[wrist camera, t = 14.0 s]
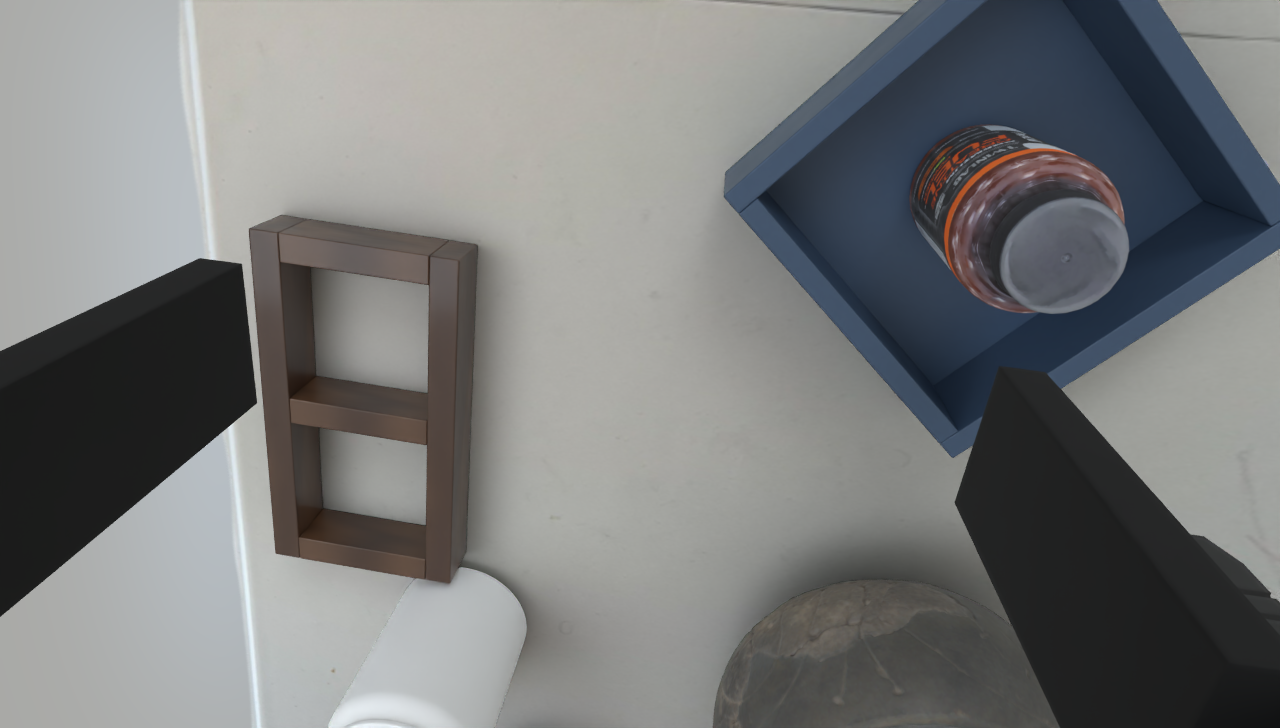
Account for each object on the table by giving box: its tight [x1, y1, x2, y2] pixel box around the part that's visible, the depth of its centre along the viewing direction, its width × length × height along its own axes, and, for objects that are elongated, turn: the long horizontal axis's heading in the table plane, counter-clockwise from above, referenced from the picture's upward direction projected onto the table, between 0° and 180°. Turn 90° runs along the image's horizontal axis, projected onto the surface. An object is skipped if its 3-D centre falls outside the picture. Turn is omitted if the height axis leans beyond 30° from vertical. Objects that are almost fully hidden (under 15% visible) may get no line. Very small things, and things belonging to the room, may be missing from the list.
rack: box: [249, 215, 478, 584], centre depth 43 cm, size 10×20×3 cm, turn 173°
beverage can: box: [328, 567, 527, 728], centre depth 45 cm, size 8×8×12 cm
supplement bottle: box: [909, 124, 1129, 314], centre depth 31 cm, size 6×6×11 cm
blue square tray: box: [724, 0, 1280, 458], centre depth 34 cm, size 16×16×6 cm
